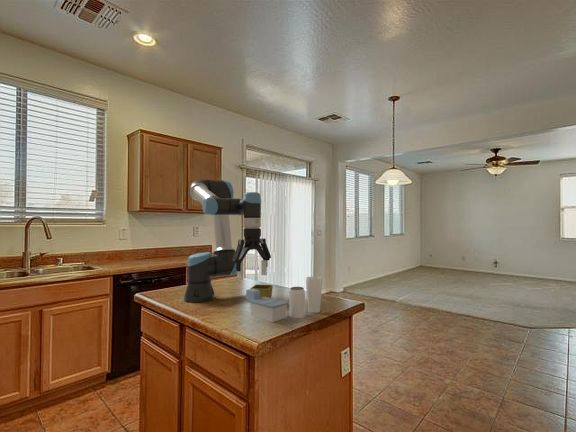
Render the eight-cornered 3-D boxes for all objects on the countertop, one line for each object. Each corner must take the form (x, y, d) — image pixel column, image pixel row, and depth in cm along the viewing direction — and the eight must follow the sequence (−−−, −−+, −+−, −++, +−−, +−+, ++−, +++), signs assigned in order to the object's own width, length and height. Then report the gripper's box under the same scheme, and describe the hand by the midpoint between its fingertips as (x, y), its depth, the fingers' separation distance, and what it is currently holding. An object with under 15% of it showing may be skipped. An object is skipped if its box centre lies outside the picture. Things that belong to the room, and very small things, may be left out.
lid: (241, 305, 134) (241, 291, 134) (257, 301, 140) (257, 287, 140) (272, 313, 121) (272, 298, 121) (288, 309, 127) (288, 294, 127)
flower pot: (268, 308, 142) (268, 288, 143) (249, 307, 144) (249, 288, 144) (273, 303, 151) (272, 285, 151) (255, 302, 153) (255, 284, 153)
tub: (250, 316, 130) (250, 302, 130) (264, 312, 136) (264, 298, 136) (272, 323, 121) (272, 308, 121) (286, 319, 127) (286, 304, 127)
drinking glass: (317, 315, 132) (317, 279, 132) (303, 313, 135) (303, 278, 136) (324, 311, 138) (324, 277, 138) (310, 309, 141) (310, 275, 141)
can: (288, 314, 133) (288, 286, 133) (303, 314, 133) (303, 286, 134) (290, 319, 126) (290, 289, 127) (306, 319, 127) (306, 289, 127)
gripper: (234, 228, 124) (234, 282, 124) (278, 227, 143) (278, 274, 142) (223, 228, 129) (223, 279, 129) (267, 227, 148) (267, 272, 147)
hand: (252, 277), depth 136 cm, fingers open, 13 cm apart
